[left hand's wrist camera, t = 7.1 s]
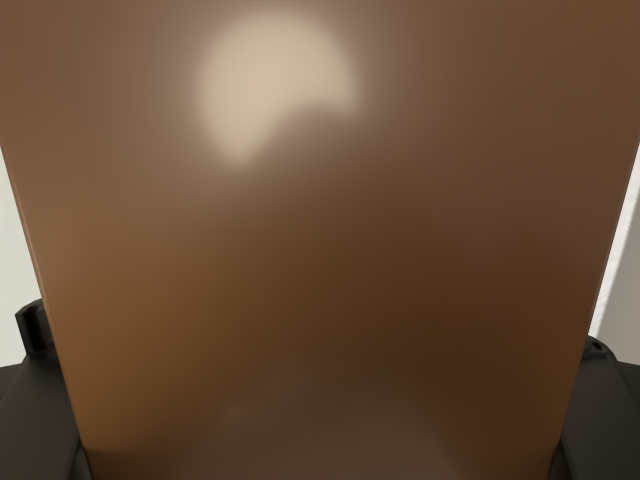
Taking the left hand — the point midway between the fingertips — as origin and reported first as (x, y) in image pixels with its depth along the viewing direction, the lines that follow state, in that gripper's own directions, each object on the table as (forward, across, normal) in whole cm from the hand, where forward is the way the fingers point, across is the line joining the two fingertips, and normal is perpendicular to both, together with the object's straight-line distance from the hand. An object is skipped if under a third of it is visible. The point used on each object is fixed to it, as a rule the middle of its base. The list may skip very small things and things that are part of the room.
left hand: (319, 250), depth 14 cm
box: (+1, 0, -10) cm, 11 cm away
